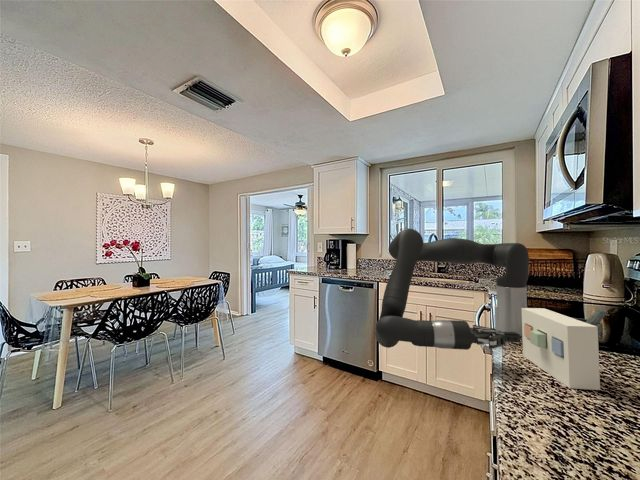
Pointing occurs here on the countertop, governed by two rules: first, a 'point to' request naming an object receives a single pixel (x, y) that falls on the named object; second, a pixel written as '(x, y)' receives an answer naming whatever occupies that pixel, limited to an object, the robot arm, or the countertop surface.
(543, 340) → the sage button
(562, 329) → the control box
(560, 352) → the blue button
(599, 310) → the mortar and pestle
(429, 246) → the robot arm
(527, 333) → the terracotta button
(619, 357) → the countertop surface
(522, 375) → the countertop surface
